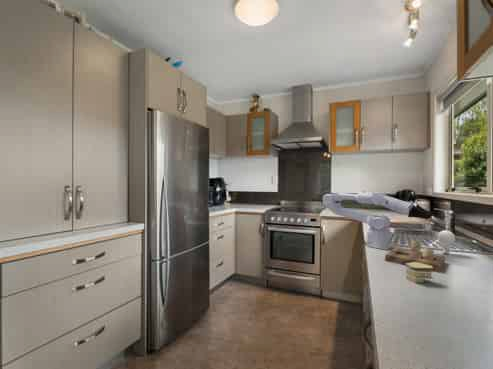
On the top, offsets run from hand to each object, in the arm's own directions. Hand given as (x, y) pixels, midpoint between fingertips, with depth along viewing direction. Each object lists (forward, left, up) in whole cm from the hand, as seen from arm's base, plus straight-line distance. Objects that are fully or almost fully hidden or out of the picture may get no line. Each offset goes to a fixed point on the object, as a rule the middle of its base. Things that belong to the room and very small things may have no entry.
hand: (430, 216), depth 112 cm
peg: (+1, -15, -18) cm, 23 cm away
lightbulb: (+5, +10, -18) cm, 21 cm away
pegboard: (-3, -15, -18) cm, 23 cm away
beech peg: (-5, -1, -18) cm, 19 cm away
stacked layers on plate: (+2, -38, -18) cm, 42 cm away
